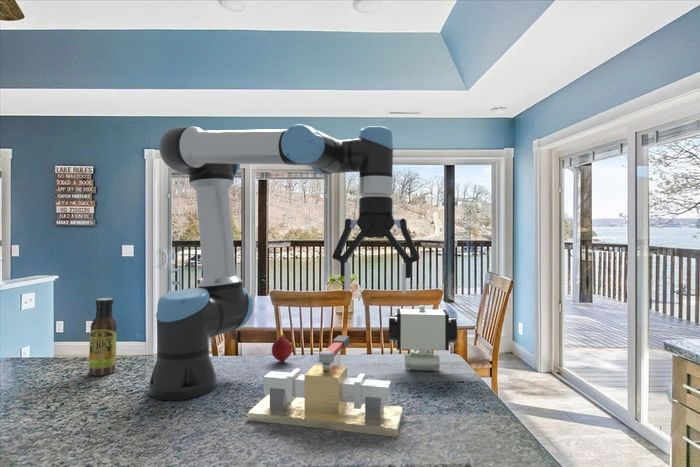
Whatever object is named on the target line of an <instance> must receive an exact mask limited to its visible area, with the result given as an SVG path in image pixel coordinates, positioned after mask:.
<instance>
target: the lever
mask: <svg viewBox="0 0 700 467" xmlns="http://www.w3.org/2000/svg"><path fill="white" fill-rule="evenodd" d="M349 344H350V335H340V334H339V335H337V336H336V337H335V338H334V339H333V340H332V343H331V344H330V345H329V346H328V347H327V348H326V349H325V350H322V351H319V353H318V362H319V363H320V364H323V363H330V364H331V363H333V362H335V360H334V359H335V357H336V356H337V355H338V354H339V352H340V351H341V350H345V349H346V348H347V346H349Z"/></svg>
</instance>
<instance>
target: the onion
mask: <svg viewBox="0 0 700 467" xmlns="http://www.w3.org/2000/svg"><path fill="white" fill-rule="evenodd" d="M285 336H286V335H285V334H281V335H280V336H279V338H277V339H275V341H274V342H273V343H272V345H271V354H272V356H273V357H274V359H275V360H277V361H279V362H280V363H284V362H286V360H287V359H288V358H290V356H291V355H292V353H293V352H292V351H293V346H292V343H291V342H290V341H289V339H287V338H286V337H285Z"/></svg>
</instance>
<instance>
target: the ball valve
mask: <svg viewBox="0 0 700 467" xmlns="http://www.w3.org/2000/svg"><path fill="white" fill-rule="evenodd" d="M418 307H419V309H418V308H416V309H415V308H414V309H413V308H410V309H409V308H397V309H396V313H395V314H394V315H388V341H389V342H391V341H392V342H395V343H394V344H396V347H397V348H396V349H397V350H413V352H409V353H404V368H405V369H406V370H407V369H408V370H409V369H410V371H421V372H422V371H426V372H434V371H435V370H436V371H437V370H440V366H441V363H440V362H441V361H440V355H438V354H434V352H433V353H432V351H450V348H449V347H450V346H451V344H452V343H457V339H458V323H457V318H456V317H454V316H450V313H448V311H447V310H446V309H426V308H425V307H426V306H425V305H424V304H423V305H422V304H420V305H418Z"/></svg>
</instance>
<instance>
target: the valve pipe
mask: <svg viewBox="0 0 700 467" xmlns="http://www.w3.org/2000/svg"><path fill="white" fill-rule="evenodd" d="M263 394H264V395H266V396H264V398H262V399H261V400H259V402H258V403H257V404H255V405H254V406H253V407H252V408H251V409H250V410H249V411H248V412H247V421H252V422H255V421H256V422H262V423H269V424H270V423H271V424H278V425H279V424H281V425H287V426H288V425H289V426H297V427H306V428H315V429H325V430H331V431H341V432H351V433H358V434H359V433H360V434H368V435H378V436H386V437H395V438H397V437H398V433H399V430H400V425H401V421H402V419H403V415H402V414H403V412H404V411H403V410H404V409H403V408H404V407H403V406H396V405H390V402H391V400H392V381H391V380H380V379H369V378H366V373H359V374H358V375H357V377H348V366H345V365H331V363H322V364H321V363H319V364H316V363H315V364H313V366H312V367H311V368H310V369H308V370H307V372H306V373H302V368H297V367H296V368H294V369H293V370H292V371H291V372H284V371H269V372H268V373H266V374H265V375H264V376H263Z"/></svg>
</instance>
